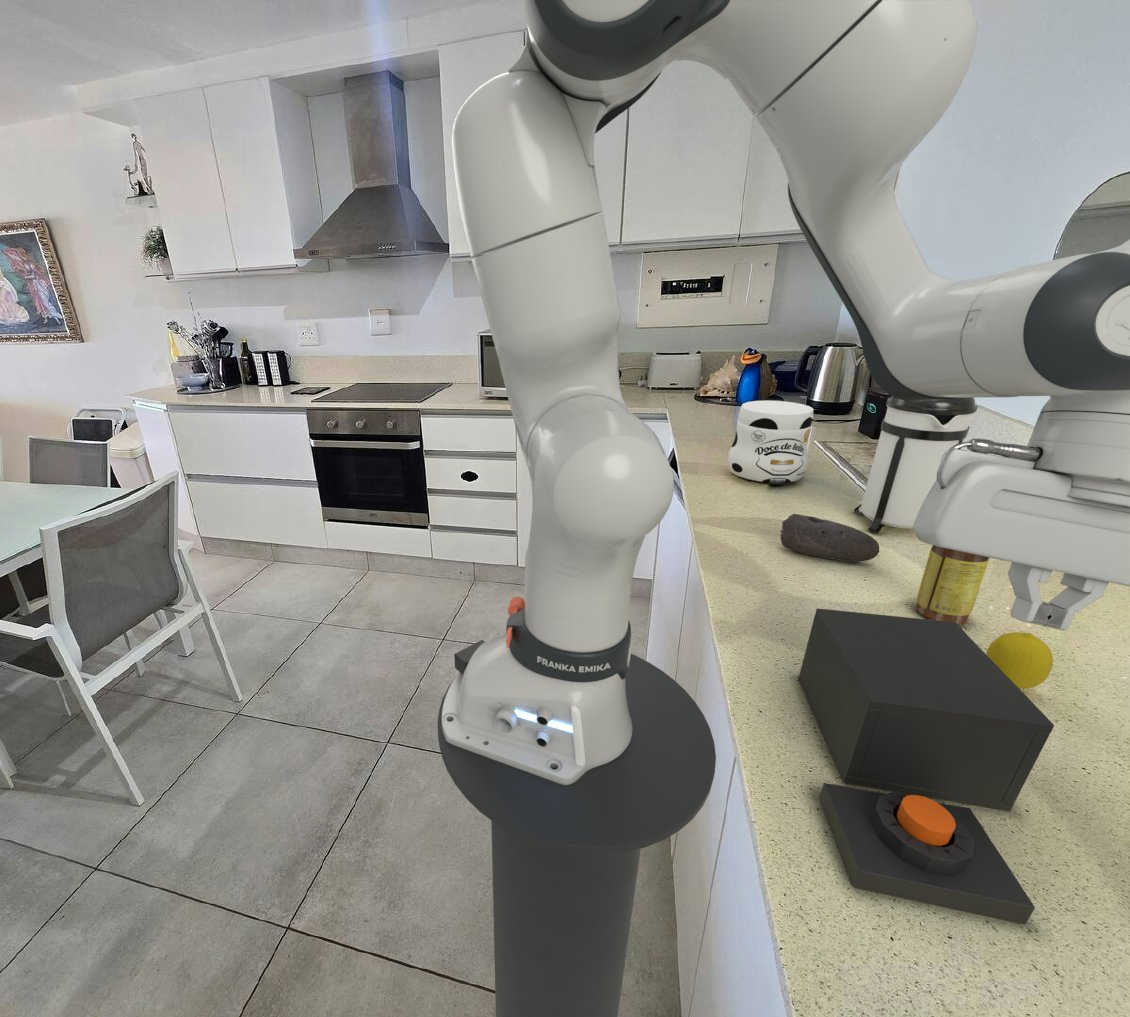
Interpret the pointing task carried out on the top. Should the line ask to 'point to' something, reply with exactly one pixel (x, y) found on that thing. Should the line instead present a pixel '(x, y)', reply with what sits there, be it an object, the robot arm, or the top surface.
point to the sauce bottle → (950, 585)
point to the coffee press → (911, 457)
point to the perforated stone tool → (827, 539)
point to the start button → (926, 820)
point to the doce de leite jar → (771, 442)
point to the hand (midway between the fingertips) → (1036, 623)
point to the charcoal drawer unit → (919, 709)
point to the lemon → (1022, 658)
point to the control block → (921, 856)
